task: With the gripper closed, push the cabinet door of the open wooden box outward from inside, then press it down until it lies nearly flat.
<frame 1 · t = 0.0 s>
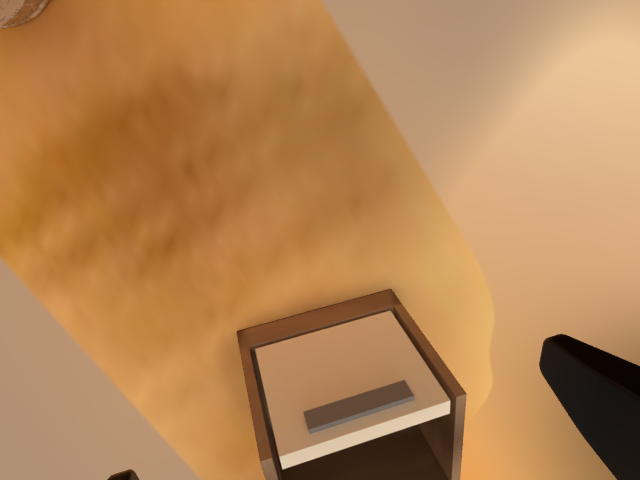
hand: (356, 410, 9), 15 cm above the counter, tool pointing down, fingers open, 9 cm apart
open wooden box: (323, 357, 29), on the counter
cabinet door: (343, 376, 23), point 5 cm above the counter, hinge at 0.0°
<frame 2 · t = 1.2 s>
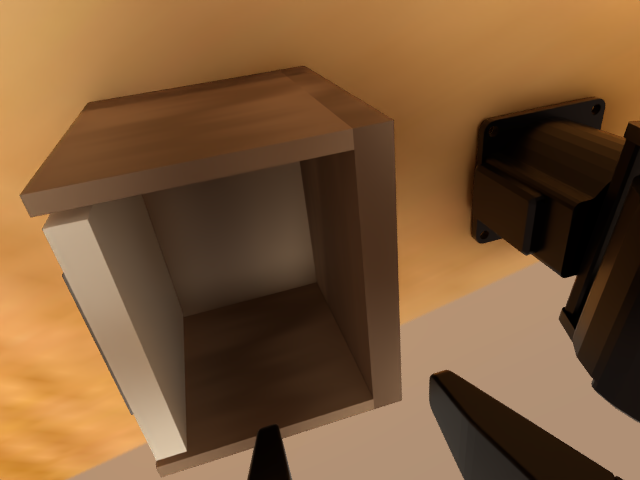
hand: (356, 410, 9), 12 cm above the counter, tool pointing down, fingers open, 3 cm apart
open wooden box: (228, 199, 19), on the counter
cabinet door: (132, 287, 14), point 5 cm above the counter, hinge at 0.0°
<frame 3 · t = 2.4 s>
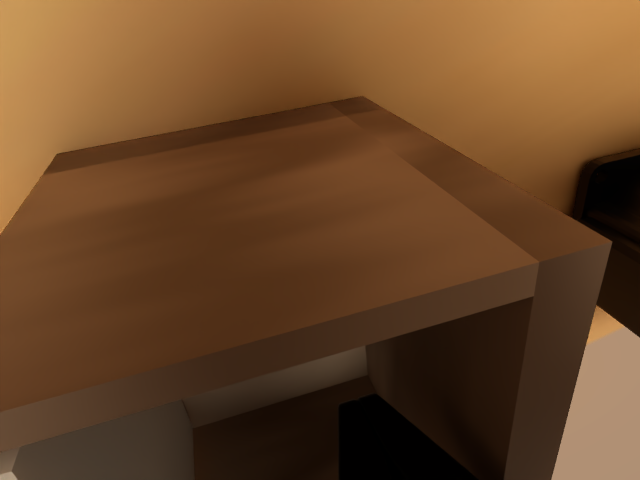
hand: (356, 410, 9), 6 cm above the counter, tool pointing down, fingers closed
open wooden box: (253, 272, 14), on the counter
cabinet door: (119, 446, 9), point 5 cm above the counter, hinge at 0.0°
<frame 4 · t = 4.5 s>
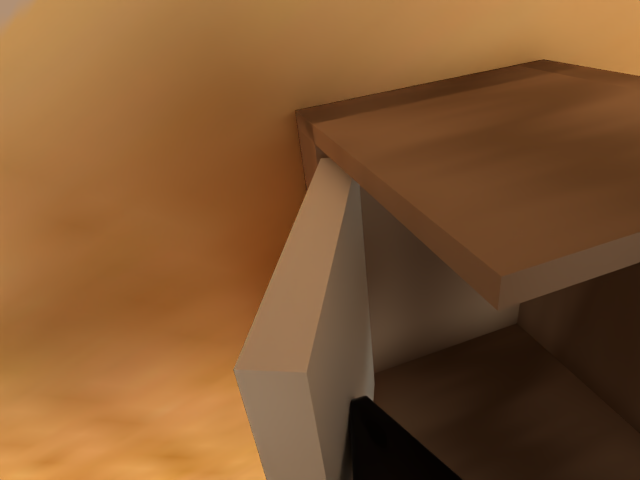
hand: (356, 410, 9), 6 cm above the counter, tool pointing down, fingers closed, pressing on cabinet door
open wooden box: (426, 227, 15), on the counter
cabinet door: (330, 379, 10), point 5 cm above the counter, hinge at 27.7°, touching gripper
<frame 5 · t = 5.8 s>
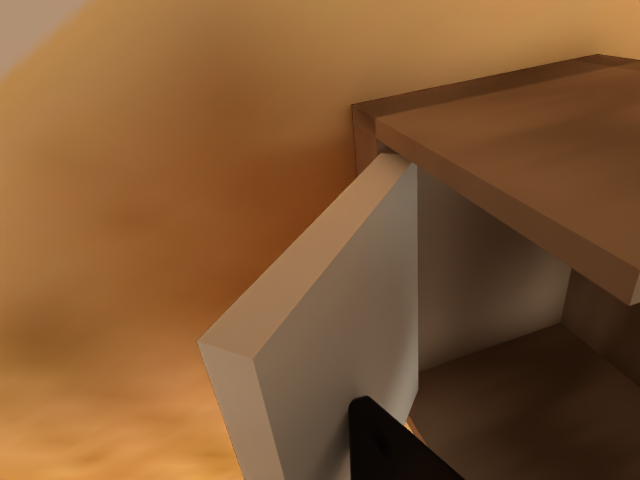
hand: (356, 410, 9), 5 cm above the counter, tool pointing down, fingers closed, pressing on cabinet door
open wooden box: (472, 224, 15), on the counter
cabinet door: (348, 373, 10), point 4 cm above the counter, hinge at 45.4°, touching gripper
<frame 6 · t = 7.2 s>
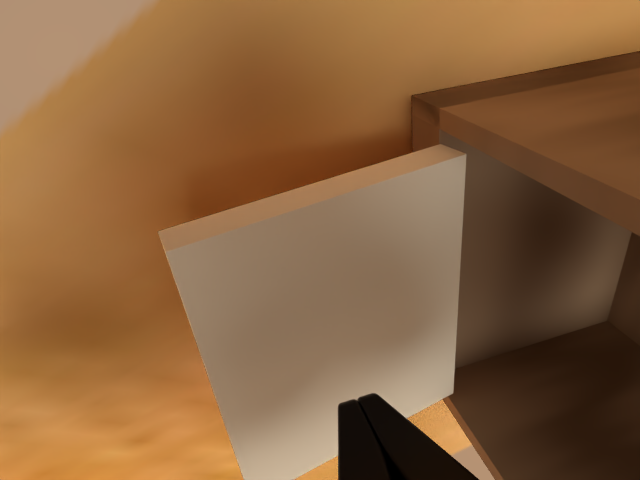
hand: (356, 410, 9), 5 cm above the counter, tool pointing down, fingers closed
open wooden box: (522, 219, 15), on the counter
cabinet door: (338, 328, 12), point 3 cm above the counter, hinge at 79.4°
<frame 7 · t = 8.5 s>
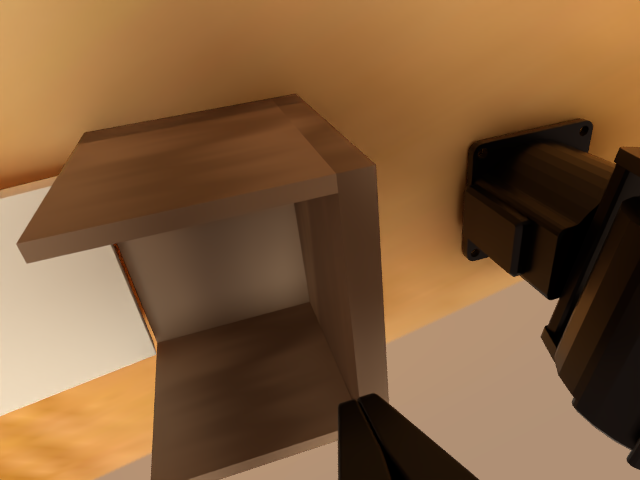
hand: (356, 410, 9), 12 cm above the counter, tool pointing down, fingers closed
open wooden box: (222, 222, 20), on the counter
cabinet door: (24, 301, 16), point 3 cm above the counter, hinge at 79.5°
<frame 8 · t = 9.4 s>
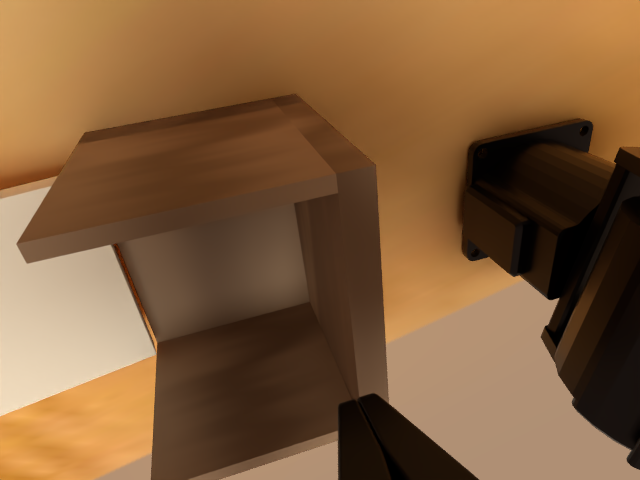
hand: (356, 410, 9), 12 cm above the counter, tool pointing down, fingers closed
open wooden box: (222, 222, 20), on the counter
cabinet door: (24, 301, 16), point 3 cm above the counter, hinge at 79.5°
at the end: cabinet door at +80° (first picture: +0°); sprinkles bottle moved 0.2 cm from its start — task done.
